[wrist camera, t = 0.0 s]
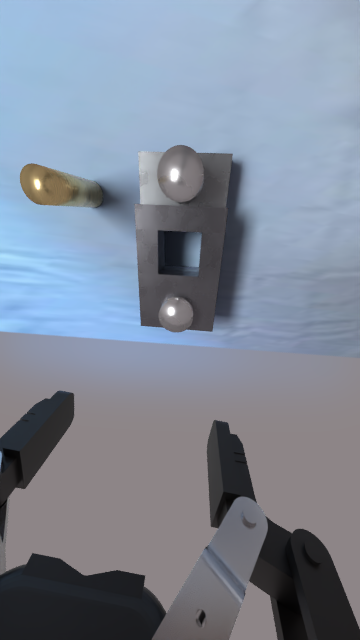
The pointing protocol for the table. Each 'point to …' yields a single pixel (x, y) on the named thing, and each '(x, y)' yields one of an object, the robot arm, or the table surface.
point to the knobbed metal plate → (187, 216)
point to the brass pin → (59, 188)
